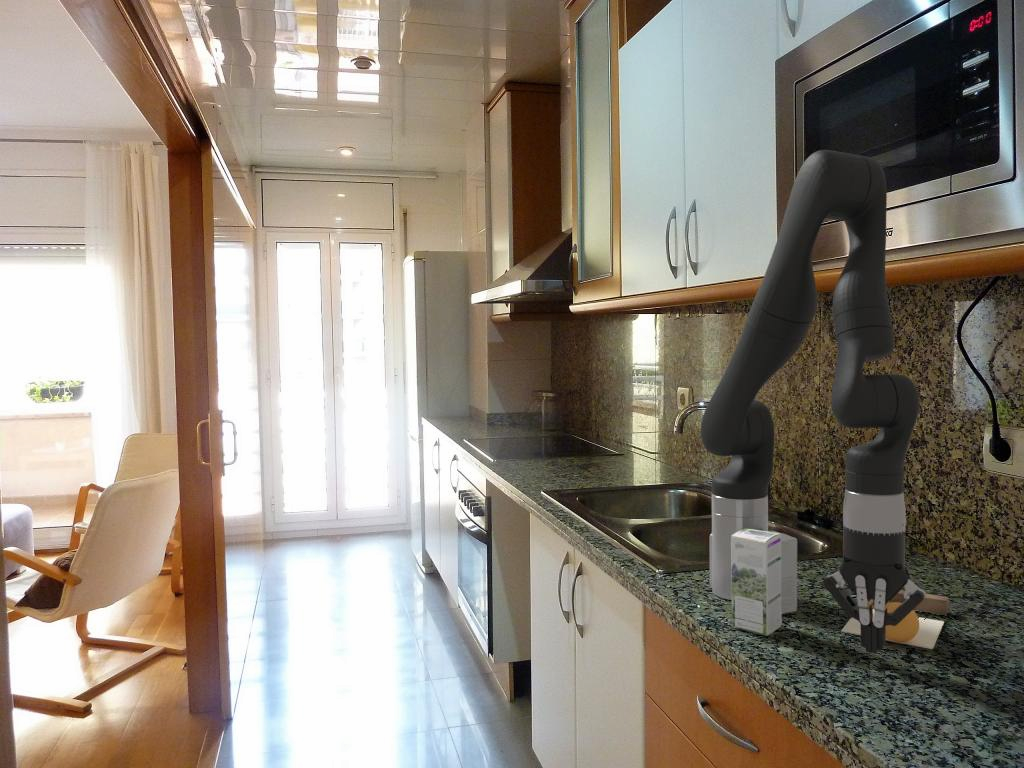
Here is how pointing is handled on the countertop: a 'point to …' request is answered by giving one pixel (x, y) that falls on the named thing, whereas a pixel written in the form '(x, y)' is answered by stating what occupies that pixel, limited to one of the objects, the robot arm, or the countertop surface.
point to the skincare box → (788, 573)
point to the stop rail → (926, 603)
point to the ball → (902, 626)
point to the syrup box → (756, 581)
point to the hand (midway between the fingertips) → (873, 651)
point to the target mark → (923, 638)
